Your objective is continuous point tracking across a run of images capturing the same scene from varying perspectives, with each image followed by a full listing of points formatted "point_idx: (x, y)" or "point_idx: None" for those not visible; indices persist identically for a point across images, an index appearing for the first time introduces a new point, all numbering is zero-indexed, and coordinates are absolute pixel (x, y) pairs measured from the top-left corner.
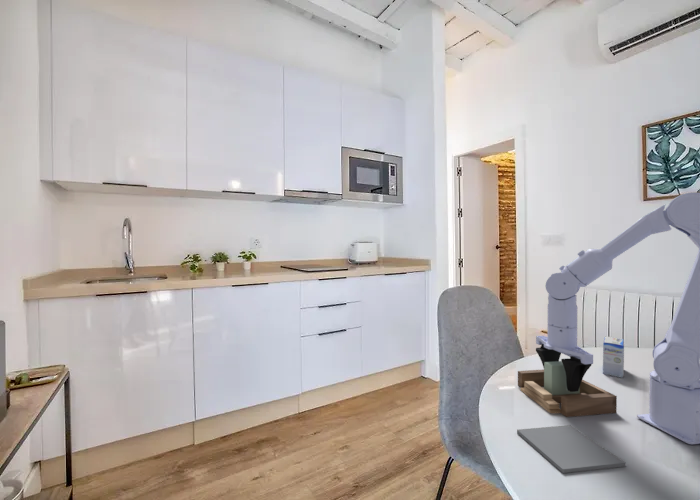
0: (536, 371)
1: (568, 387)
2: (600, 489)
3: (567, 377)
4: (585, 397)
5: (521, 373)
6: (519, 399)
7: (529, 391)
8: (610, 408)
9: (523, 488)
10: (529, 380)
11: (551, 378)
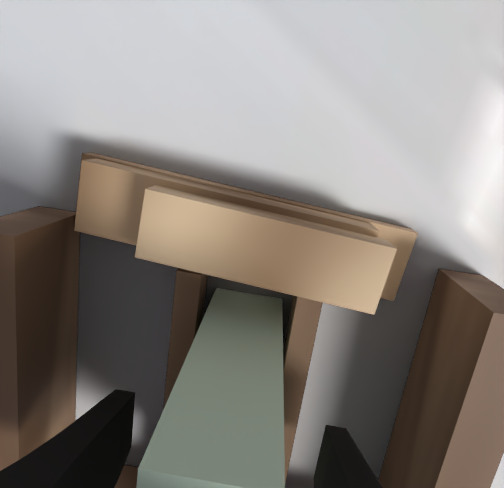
0: (466, 456)
1: (109, 401)
2: None
3: (61, 453)
4: None
5: (496, 311)
6: (300, 107)
7: (309, 211)
8: None
9: None
10: (441, 346)
11: (186, 369)
